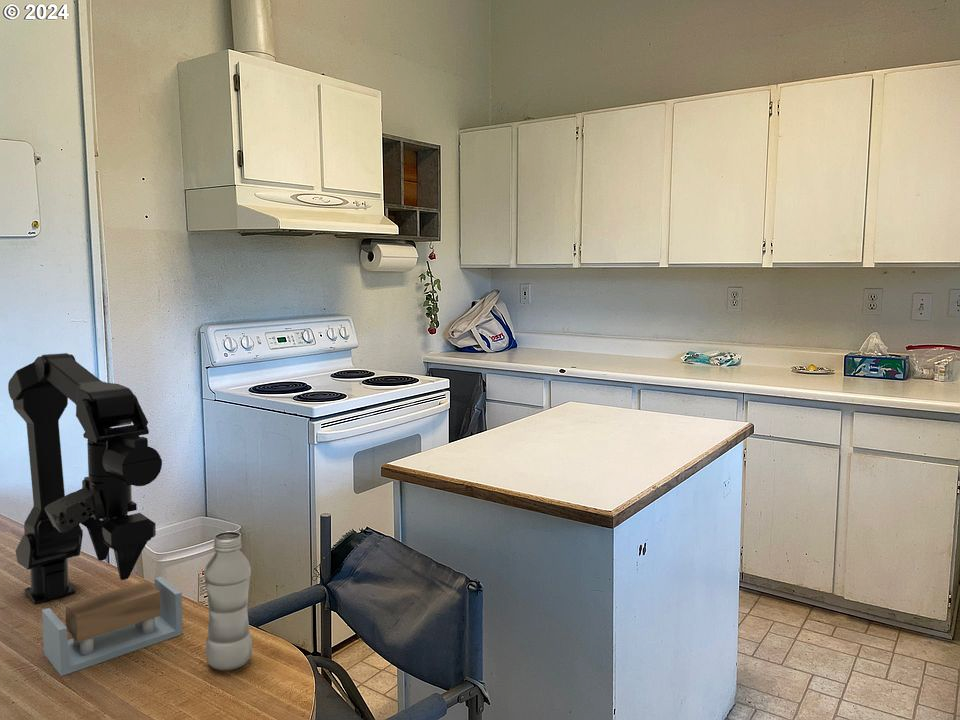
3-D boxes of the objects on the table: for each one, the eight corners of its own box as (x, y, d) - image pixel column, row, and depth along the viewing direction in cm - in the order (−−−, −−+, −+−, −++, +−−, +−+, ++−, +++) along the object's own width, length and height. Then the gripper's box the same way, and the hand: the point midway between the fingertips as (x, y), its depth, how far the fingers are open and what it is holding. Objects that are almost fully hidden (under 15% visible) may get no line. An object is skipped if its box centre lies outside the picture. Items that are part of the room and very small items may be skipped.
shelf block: (66, 629, 109) (65, 604, 108) (147, 604, 117) (147, 581, 117) (77, 642, 105) (76, 616, 105) (160, 615, 114) (160, 591, 113)
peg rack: (43, 653, 108) (41, 609, 107) (161, 615, 121) (160, 576, 120) (61, 676, 103) (59, 630, 102) (182, 634, 115) (181, 592, 114)
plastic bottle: (238, 679, 103) (237, 546, 101) (195, 672, 105) (193, 541, 102) (260, 656, 110) (260, 530, 107) (220, 649, 111) (218, 525, 108)
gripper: (30, 466, 109) (35, 564, 111) (71, 497, 96) (75, 607, 99) (108, 454, 117) (111, 546, 119) (156, 481, 104) (158, 583, 107)
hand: (112, 569), depth 111 cm, fingers open, 9 cm apart
